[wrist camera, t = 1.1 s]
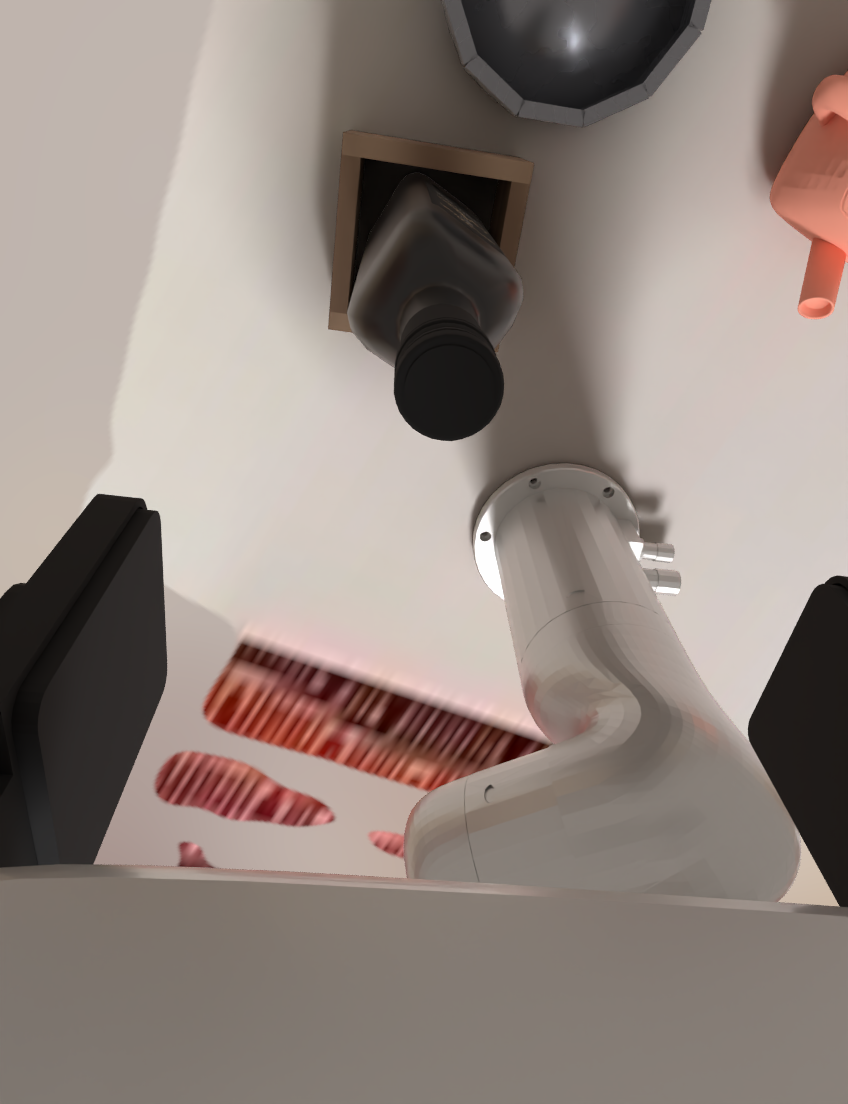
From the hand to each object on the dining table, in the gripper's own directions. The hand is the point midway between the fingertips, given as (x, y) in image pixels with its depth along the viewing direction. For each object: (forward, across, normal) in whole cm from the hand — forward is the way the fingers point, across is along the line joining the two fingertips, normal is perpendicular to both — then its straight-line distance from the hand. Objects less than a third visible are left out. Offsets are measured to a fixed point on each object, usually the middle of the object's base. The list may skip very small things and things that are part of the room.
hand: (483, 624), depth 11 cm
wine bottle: (+41, 0, 0) cm, 41 cm away
